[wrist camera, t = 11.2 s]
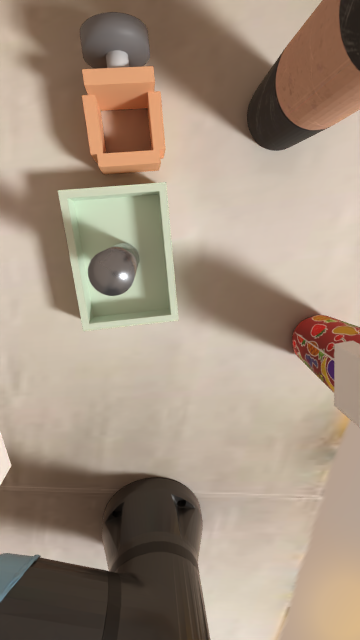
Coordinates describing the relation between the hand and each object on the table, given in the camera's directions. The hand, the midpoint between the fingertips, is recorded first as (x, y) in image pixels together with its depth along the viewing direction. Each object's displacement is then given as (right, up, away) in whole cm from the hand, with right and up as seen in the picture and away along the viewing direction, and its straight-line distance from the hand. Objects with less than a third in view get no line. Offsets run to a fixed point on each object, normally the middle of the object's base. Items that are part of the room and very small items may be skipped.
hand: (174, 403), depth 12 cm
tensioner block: (-6, +25, +22) cm, 33 cm away
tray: (-6, +11, +26) cm, 28 cm away
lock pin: (-6, +10, +25) cm, 28 cm away
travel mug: (+11, +26, +23) cm, 37 cm away
